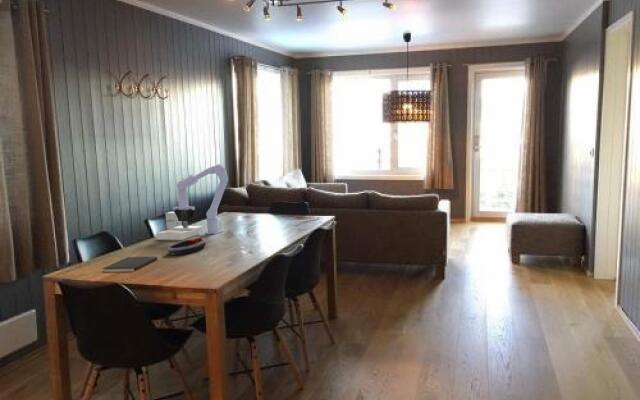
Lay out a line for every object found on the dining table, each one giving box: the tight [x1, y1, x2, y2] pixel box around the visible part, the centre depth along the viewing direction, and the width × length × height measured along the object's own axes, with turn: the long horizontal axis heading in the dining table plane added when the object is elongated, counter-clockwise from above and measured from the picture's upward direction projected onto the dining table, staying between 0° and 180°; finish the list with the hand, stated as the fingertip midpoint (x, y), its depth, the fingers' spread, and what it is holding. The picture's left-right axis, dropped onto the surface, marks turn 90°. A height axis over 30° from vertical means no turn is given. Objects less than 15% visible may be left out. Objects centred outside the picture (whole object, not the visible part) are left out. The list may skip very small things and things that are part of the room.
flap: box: [173, 221, 204, 229], centre depth 343 cm, size 8×18×4 cm, turn 69°
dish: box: [166, 236, 207, 256], centre depth 292 cm, size 16×31×5 cm, turn 158°
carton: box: [156, 229, 198, 242], centre depth 332 cm, size 16×18×4 cm
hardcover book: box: [102, 256, 158, 273], centre depth 262 cm, size 16×23×2 cm
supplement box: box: [165, 211, 183, 231], centre depth 360 cm, size 7×7×13 cm
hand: (185, 221), depth 340 cm, fingers open, 7 cm apart
